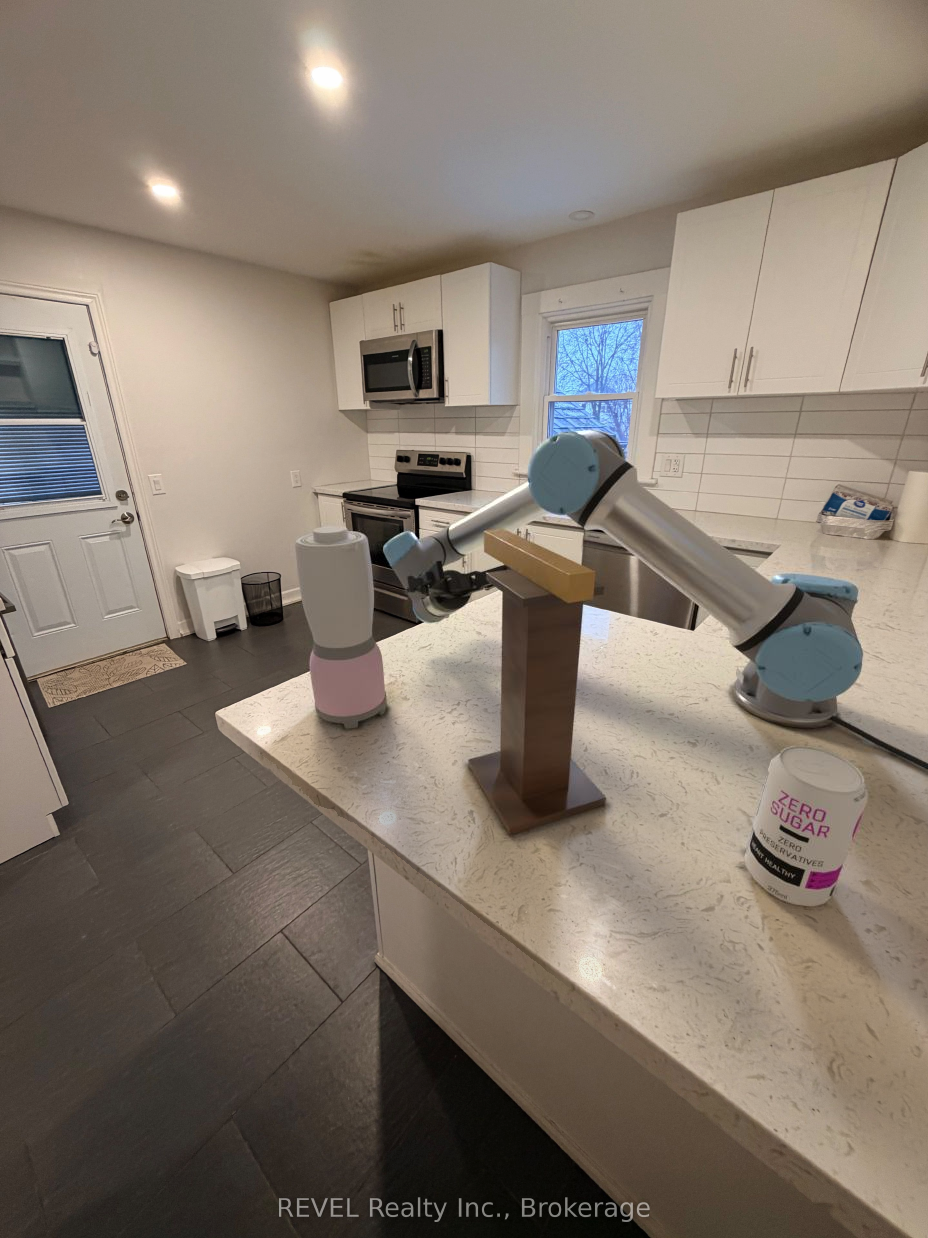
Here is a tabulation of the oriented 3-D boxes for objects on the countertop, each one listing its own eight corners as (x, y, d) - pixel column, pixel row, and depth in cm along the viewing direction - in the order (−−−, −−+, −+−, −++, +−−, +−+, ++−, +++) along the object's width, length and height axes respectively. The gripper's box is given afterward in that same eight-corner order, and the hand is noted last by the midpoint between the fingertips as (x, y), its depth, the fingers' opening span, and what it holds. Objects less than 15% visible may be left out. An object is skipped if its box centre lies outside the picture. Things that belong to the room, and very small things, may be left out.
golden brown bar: (483, 551, 69) (483, 530, 68) (503, 549, 70) (503, 528, 69) (568, 603, 50) (569, 574, 49) (593, 599, 51) (595, 571, 50)
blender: (401, 709, 87) (387, 528, 75) (341, 739, 79) (314, 543, 67) (352, 678, 97) (333, 515, 85) (294, 702, 90) (264, 526, 77)
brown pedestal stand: (468, 765, 73) (464, 570, 61) (551, 743, 77) (563, 557, 66) (509, 835, 61) (514, 607, 49) (605, 804, 65) (631, 589, 53)
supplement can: (816, 856, 57) (854, 750, 51) (841, 921, 50) (887, 805, 44) (738, 839, 59) (765, 735, 54) (750, 898, 52) (783, 786, 46)
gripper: (510, 603, 97) (562, 578, 77) (385, 622, 89) (407, 600, 69) (502, 566, 98) (552, 532, 78) (378, 582, 90) (397, 549, 70)
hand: (484, 564), depth 74 cm, fingers open, 13 cm apart
